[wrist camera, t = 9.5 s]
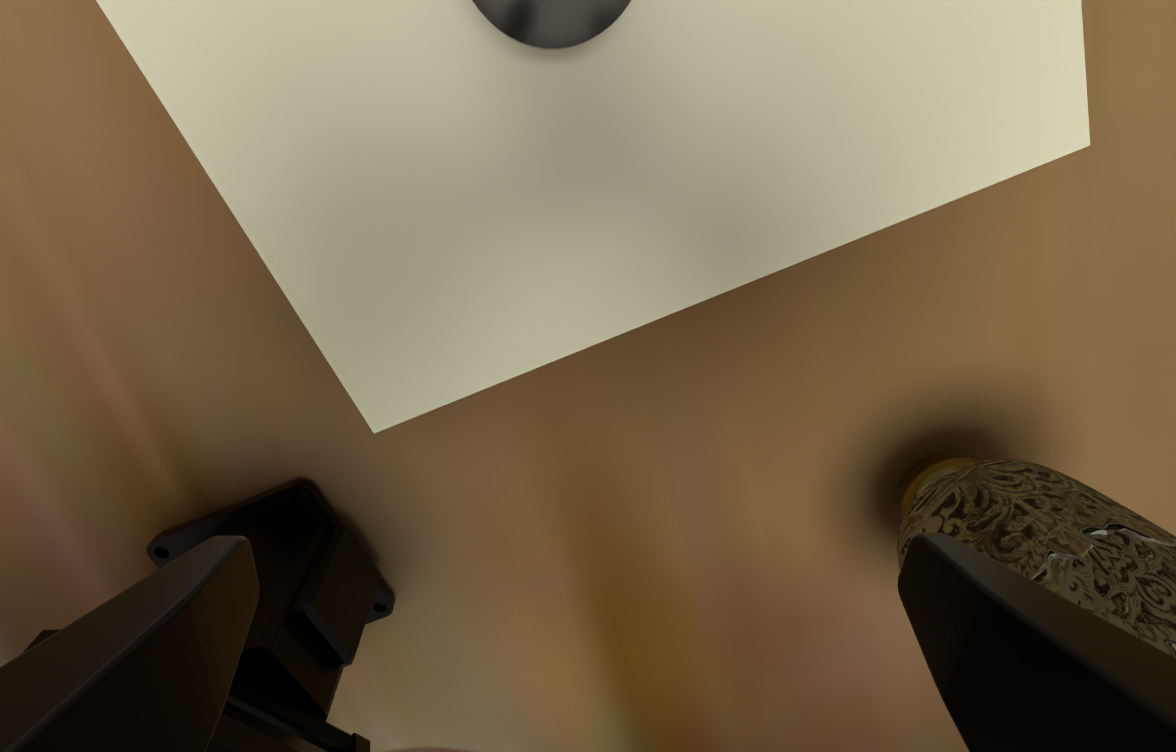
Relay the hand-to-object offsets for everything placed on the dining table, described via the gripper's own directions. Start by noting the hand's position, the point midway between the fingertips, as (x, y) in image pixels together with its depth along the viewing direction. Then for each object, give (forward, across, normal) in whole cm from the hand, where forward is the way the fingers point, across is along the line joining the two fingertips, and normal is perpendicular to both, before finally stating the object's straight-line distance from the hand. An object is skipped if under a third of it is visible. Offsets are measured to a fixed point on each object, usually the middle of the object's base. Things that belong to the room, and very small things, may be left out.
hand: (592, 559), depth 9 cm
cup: (+13, -15, +8) cm, 21 cm away
